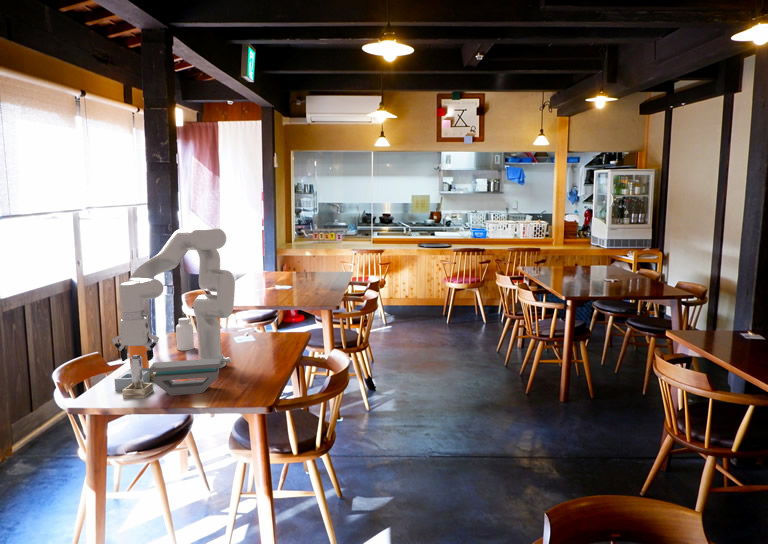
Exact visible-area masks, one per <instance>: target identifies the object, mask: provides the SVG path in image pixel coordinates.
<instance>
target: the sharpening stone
mask: <svg viewBox="0 0 768 544" xmlns="http://www.w3.org/2000/svg"><path fill="white" fill-rule="evenodd" d="M220 365H221V358H215V359H200V360H199V359H189V360H186V359H185V360H175V361H174V360H172V361H158V362H156V361H155V362H152V364H151V366H149V370H150V372H153V373H155V372H156V374H155V375H154V377H153V381H152V382H153V384H155V385H156V386H157V387H159V388H160V389H162V390H163V391H164V392H165V393H167V394H168V395H169V396H181V395H193V394H194V395H195V394H196V393H197V394H203V393H204V392H205V391H206V390H207V389H208V388H209V387H210V386H211V385H213V383H214V382H215V381H216V380H217V379H218V377H219V375H220V369H221V368H220ZM188 379H189V380H188ZM192 379H193V380H192ZM174 380H175V381H174ZM177 380H178V381H177ZM179 380H180V381H179Z"/></svg>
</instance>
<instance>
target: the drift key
mask: <svg viewBox="0 0 768 544" xmlns="http://www.w3.org/2000/svg"><path fill="white" fill-rule="evenodd" d="M149 374H150V382H154V381H153V377H154V375H155V374H156V372H153V373H149Z"/></svg>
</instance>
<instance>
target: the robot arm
mask: <svg viewBox="0 0 768 544" xmlns="http://www.w3.org/2000/svg"><path fill="white" fill-rule="evenodd" d="M226 243H227V236H226V233H225V231H224V230H222V228H221V229H220V228H217V227H215V228H212V227H211V228H209V227H208V228H206V227H197V228H179V229H177V230H175V231H174V232H173V233H172V235H171V236H170V238H168V240H167V241H166V243H165V244H164V245H163V247H162V248H161V249H160V251H159V252H158V253H157V254H156V255H154V256H152V257H151V258H150V259H148V260H146V261H145V262H144V263H142V264H140V265H139V266H138V267H137V268H136V270H135V271H134V272H133V273H132V274H131V276H130V277H129V279H128V280H127V281H126V282H122V283H120V284H119V286H118V291H119V293H118V294H119V300H120V311H121V319H120V323H119V335H117V336H115V337H113V338H111V341H112V343H113V345H114V347H115V348H116V349H117V350H118V351H119V353H120V354H119V355H120V359H121V362H125V361H126V360H128V358H129V356H128V348H126V347H128V346H145V347H146V348H147V349H148V350H147V360H148V361H149V362H150V361H151V360H153V359H154V348H155V347H156V346H157V344H158V342H159V341H160V337H159V336H157V335H154V334H153V333H151V329H150V324H149V319H148V318H147V317H145V316H148V312H147V311H145V309H144V302H143V300H152V299H156V298H159V297H161V295H162V294H163V292H164V285H163V283H162V281H160V280H159V279H156V278H154V277H156V276H158V275H160V274H162V273H166V272H168V271H171V270H173V269H175V268H177V266H178V265H179V264H180V263H181V261H183V260H182V259H184V257H185V255H187V253H188V252H189V251H196V252H197V254H198V257H199V267H198V268H199V269H198V286H199V288H200V289H201V290H202V291H204V292H214V293H216V294H207V293H204V294H200V295H197V297H195V298H194V301H193V306H192V307H193V312H194V313H193V314H194V316H195V320H196V321H195V322H196V331H197V348H198V360H200V359H215V358H221V365H220V368H219V369H222V368H224V367H225V366H226V365H227V364H230V363H232V358H231V357H230V356H229V357H225V354H223V353H222V343H221V342H222V339H221V326H220V321H219V319H226V318H229V317H230V316H231V315H232V313H233V310H234V306H235V303H234V302H235V288H236V281H235V276H234V274H233V273H232V272H231V271H230V270H226V269H221V256H220V252H219V251H218V249H221V248H223V247H224V246H225V244H226ZM119 340H120V341H119ZM152 340H153V342H152ZM151 342H152V343H151Z"/></svg>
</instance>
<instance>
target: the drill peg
mask: <svg viewBox="0 0 768 544" xmlns="http://www.w3.org/2000/svg"><path fill="white" fill-rule="evenodd" d="M130 360H131V367H130V369H131V375H132V389H144V380H143V365H142V357H140V355H133V356H132V358H130V359H129V361H130Z"/></svg>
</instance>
